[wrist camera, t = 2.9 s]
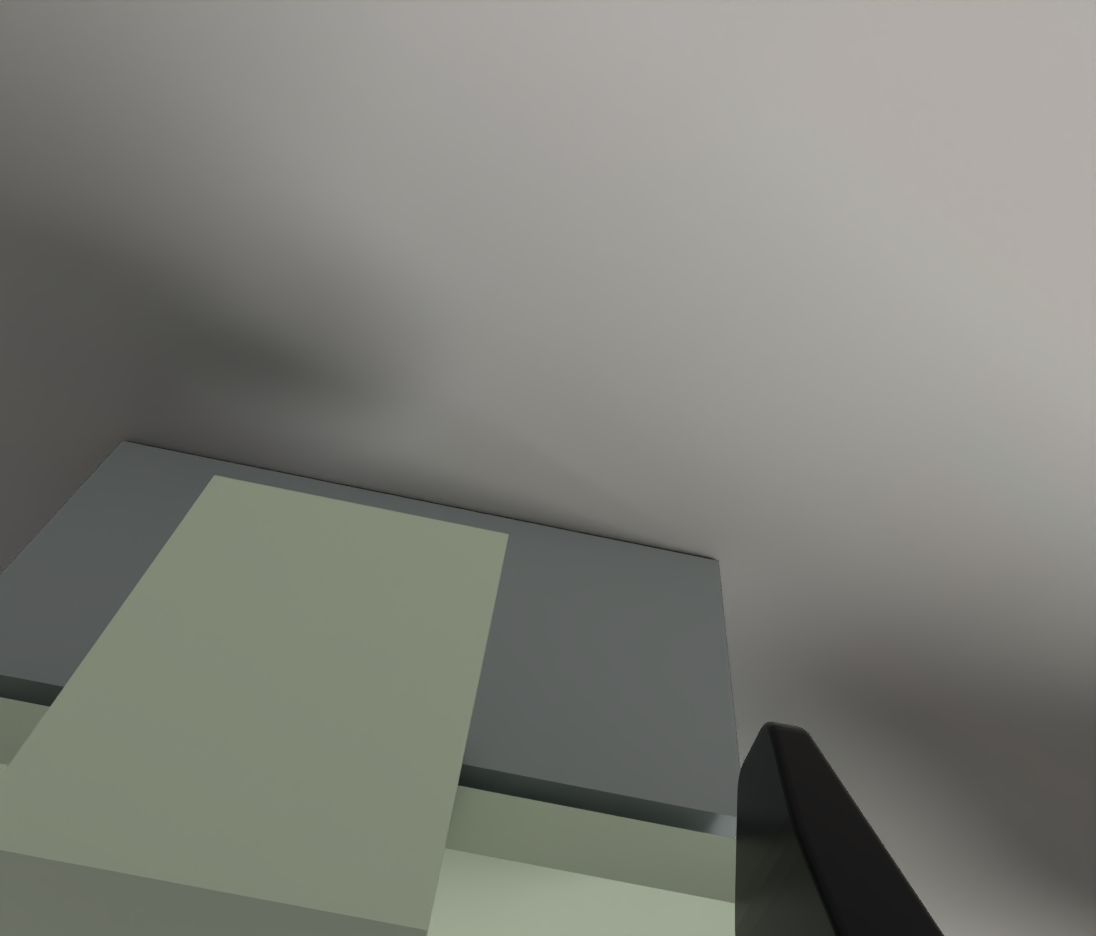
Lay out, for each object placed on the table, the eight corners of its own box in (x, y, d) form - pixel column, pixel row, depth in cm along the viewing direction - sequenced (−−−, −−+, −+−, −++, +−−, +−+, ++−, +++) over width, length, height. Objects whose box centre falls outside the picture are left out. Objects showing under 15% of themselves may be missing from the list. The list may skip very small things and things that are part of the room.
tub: (122, 440, 14) (-78, 659, 10) (718, 561, 15) (745, 819, 11) (181, 929, 23) (88, 1143, 19) (547, 997, 24) (527, 1222, 20)
